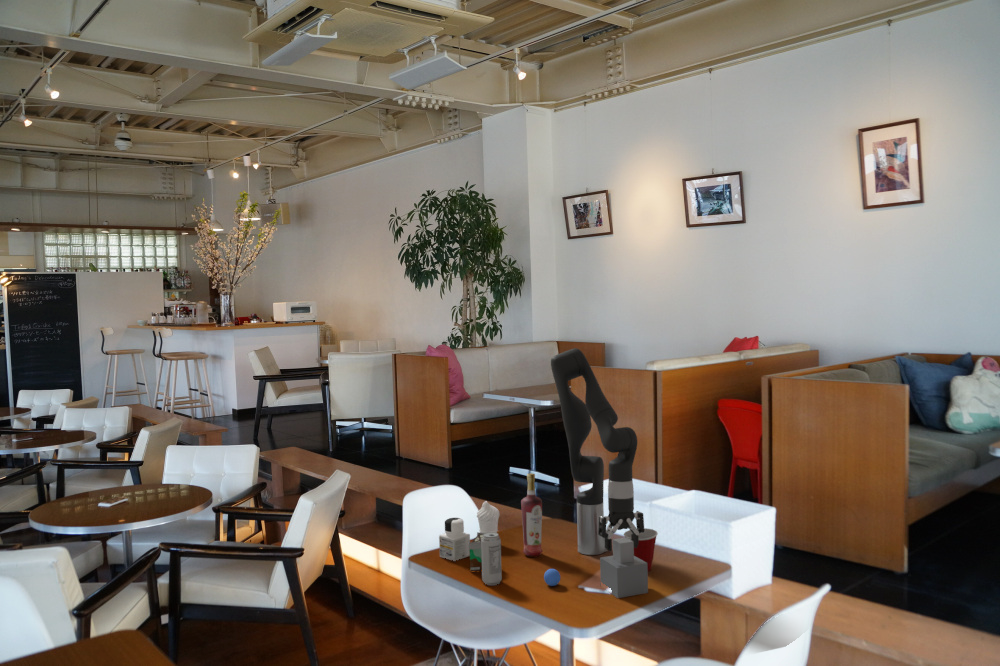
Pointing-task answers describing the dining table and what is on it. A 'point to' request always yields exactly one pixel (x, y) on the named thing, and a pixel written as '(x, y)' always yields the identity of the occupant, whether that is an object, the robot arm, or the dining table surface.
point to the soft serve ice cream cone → (488, 518)
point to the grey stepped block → (624, 570)
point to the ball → (552, 577)
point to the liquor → (531, 519)
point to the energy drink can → (491, 558)
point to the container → (454, 540)
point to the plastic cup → (645, 545)
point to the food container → (476, 553)
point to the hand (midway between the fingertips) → (621, 548)
